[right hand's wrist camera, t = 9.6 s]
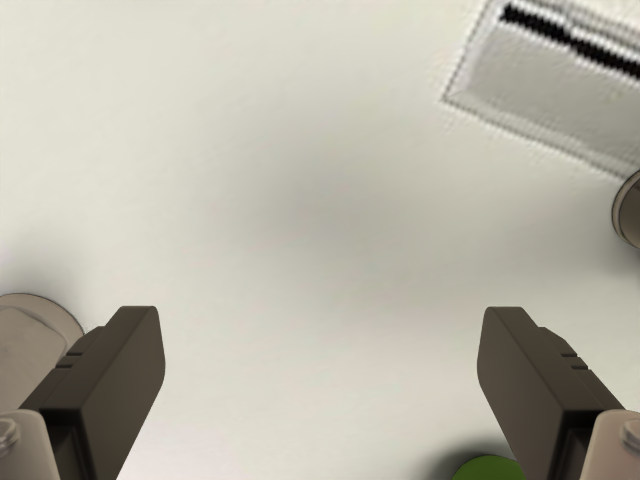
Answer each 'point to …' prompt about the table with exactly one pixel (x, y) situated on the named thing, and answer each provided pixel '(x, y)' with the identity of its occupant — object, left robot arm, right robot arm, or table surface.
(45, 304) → the bust sculpture
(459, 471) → the vase
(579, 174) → the table surface
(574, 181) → the table surface
